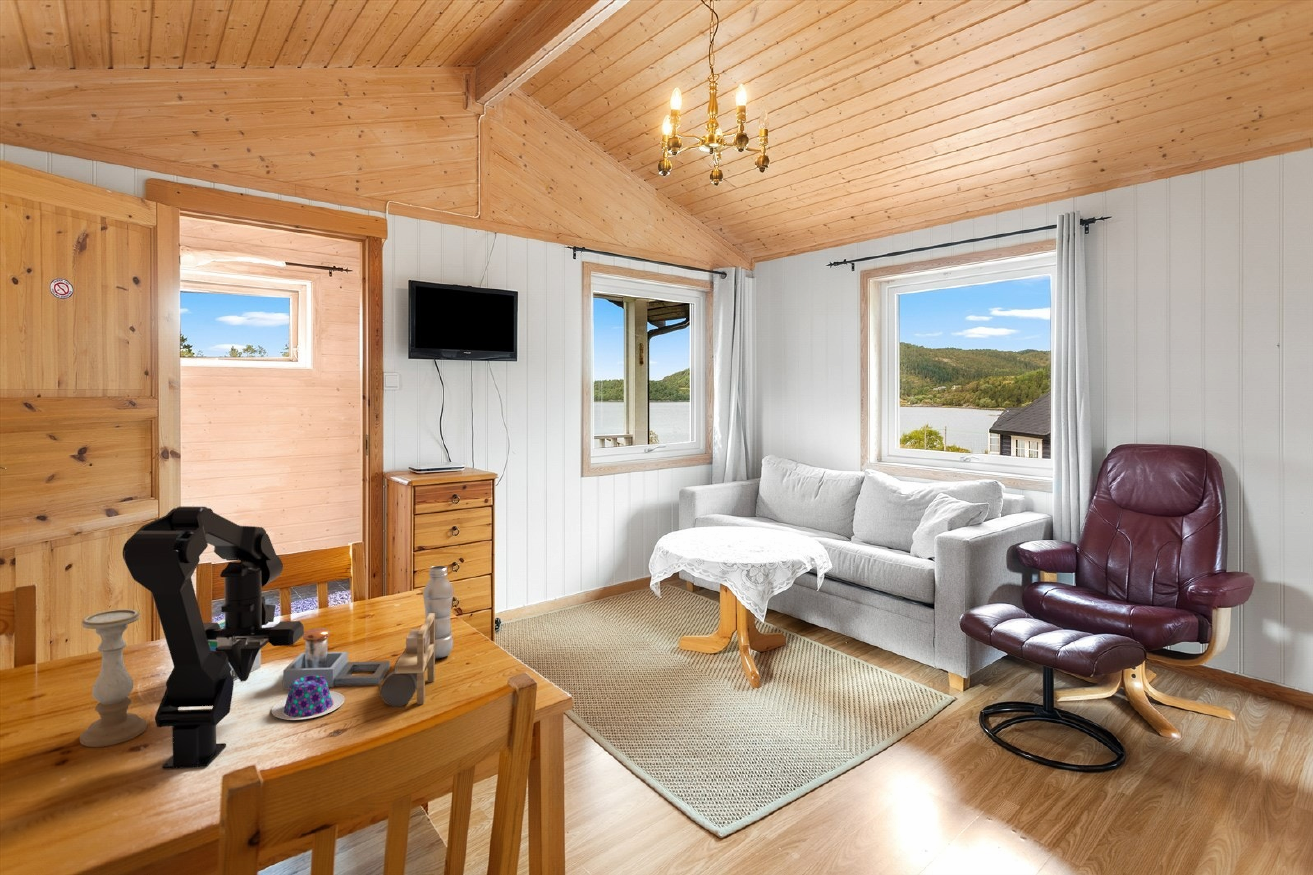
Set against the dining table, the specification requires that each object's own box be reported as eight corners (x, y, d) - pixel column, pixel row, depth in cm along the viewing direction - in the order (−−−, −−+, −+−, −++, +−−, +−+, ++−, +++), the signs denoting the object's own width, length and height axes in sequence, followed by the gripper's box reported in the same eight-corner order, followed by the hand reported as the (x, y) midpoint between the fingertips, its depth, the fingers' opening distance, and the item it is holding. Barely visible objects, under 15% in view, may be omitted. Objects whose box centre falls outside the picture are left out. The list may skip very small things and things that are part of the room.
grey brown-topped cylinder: (325, 679, 136) (325, 635, 136) (299, 680, 136) (299, 636, 135) (332, 669, 141) (332, 627, 141) (307, 671, 140) (307, 628, 140)
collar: (379, 684, 136) (379, 677, 136) (334, 686, 135) (334, 678, 135) (390, 667, 144) (390, 660, 144) (347, 669, 143) (347, 662, 143)
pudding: (299, 692, 133) (299, 665, 132) (357, 696, 131) (357, 670, 131) (256, 721, 121) (255, 692, 120) (319, 726, 119) (319, 697, 119)
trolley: (422, 705, 128) (423, 633, 127) (380, 707, 127) (380, 634, 126) (435, 678, 140) (435, 612, 139) (396, 679, 139) (396, 613, 138)
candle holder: (138, 717, 120) (136, 604, 119) (153, 733, 115) (151, 615, 114) (74, 735, 114) (71, 615, 112) (87, 753, 108) (83, 628, 107)
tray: (333, 687, 135) (332, 669, 134) (283, 688, 133) (283, 670, 133) (347, 668, 144) (347, 651, 143) (301, 669, 142) (301, 652, 142)
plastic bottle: (415, 658, 150) (415, 568, 149) (438, 648, 156) (438, 562, 155) (436, 664, 147) (437, 573, 146) (459, 654, 153) (460, 566, 152)
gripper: (314, 583, 132) (314, 661, 133) (210, 584, 130) (211, 664, 131) (291, 600, 121) (292, 685, 122) (177, 601, 119) (179, 689, 120)
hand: (244, 680), depth 124 cm, fingers closed
